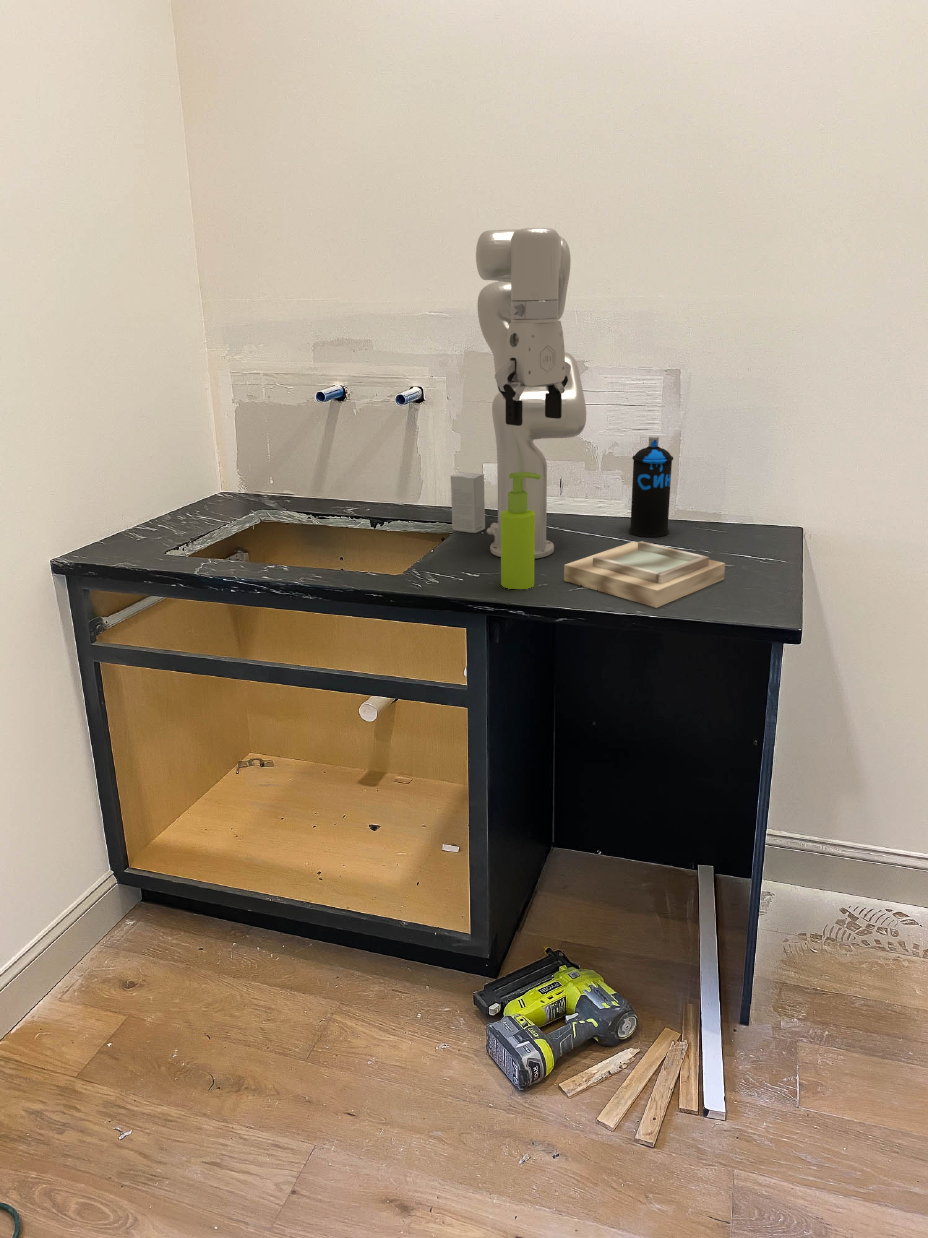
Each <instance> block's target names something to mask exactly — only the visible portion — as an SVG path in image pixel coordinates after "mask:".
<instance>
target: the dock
mask: <svg viewBox="0 0 928 1238" xmlns="http://www.w3.org/2000/svg"><path fill="white" fill-rule="evenodd" d="M563 567H564V568H563V569H564V570H563V581H564V582H566V583H567V582H568V583H570V582H571V583H570V584H572V585H577V586H580V585H582V586H581V587H585V588H587V589H591V590H594V591H597V590H598V591H597V592H600V593H601V592H602V593H604V594H608V595H611V596H615V597H619V598H620V599H625V600H628V601H631V602H634V603H639V604H642V605H645V606H648V607H652V608H656V609H657V608H659V607H661V606H664V605H666V604H669V603H671V602H673V601H674V602H675V601H677V600H678V599H681V598H682V597H685V596H688V595H691V594H692V593H693V594H694V593H695V592H697V591H700V590H702V589H704V588H706V587H709V586H712V585H714V584H716V583H718V582H721V581H723V580H725V572H726V571H725V570H726V563H725V562H721V561H717V560H714V559H710V557H709V556H705V555H702V554H698V553H693V552H689V551H685V550H681V549H676V548H672V547H668V546H663V545H659V544H654V543H651V542H646V541H642V540H641V541H638V542H637V541H630V542H628V543H625V544H623V545H618V546H616V547H613V548H609V549H607V550H605V551H601V552H599V553H595V554H592V555H589V556H587V557H583V558H580V559H576V560H574V561H571V562H569V563H566V564H564V565H563Z"/></svg>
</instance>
